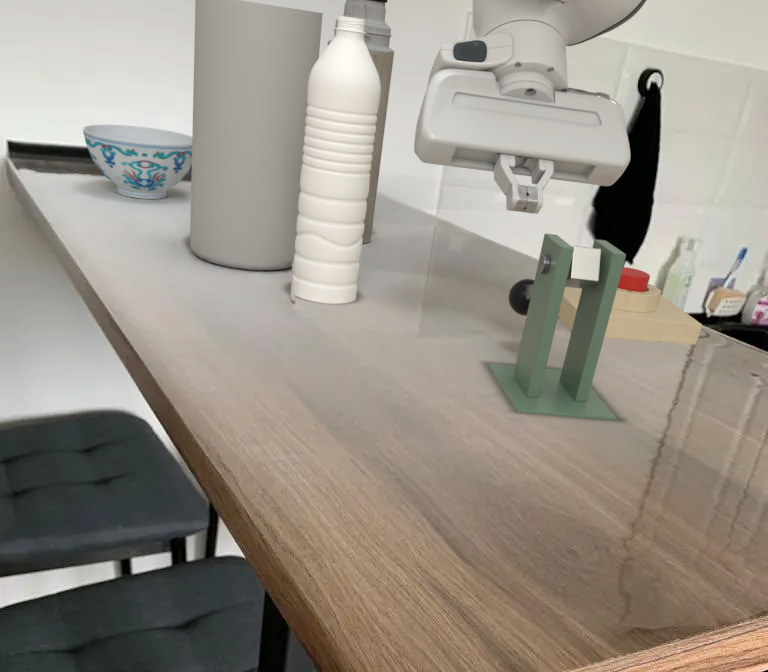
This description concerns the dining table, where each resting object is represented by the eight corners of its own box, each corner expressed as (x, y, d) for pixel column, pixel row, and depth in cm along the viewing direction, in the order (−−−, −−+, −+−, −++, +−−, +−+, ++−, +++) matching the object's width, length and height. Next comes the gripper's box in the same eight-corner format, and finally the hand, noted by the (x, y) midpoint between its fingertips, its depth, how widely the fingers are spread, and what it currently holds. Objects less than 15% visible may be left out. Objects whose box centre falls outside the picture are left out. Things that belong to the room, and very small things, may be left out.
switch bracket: (485, 376, 74) (516, 223, 68) (573, 383, 75) (612, 234, 69) (513, 424, 65) (552, 254, 59) (613, 432, 67) (661, 266, 60)
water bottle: (354, 316, 84) (390, 23, 71) (287, 308, 83) (312, 11, 71) (355, 292, 91) (387, 23, 79) (293, 284, 91) (316, 12, 78)
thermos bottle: (317, 226, 117) (339, -13, 103) (374, 235, 117) (404, -3, 103) (304, 237, 110) (327, -17, 97) (365, 247, 110) (396, -6, 96)
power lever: (502, 316, 78) (505, 280, 78) (536, 320, 79) (539, 284, 78) (563, 283, 63) (567, 239, 63) (604, 287, 64) (608, 244, 64)
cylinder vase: (166, 252, 95) (169, -11, 83) (231, 237, 105) (242, 1, 93) (262, 279, 91) (280, 6, 79) (320, 260, 101) (344, 16, 89)
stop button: (636, 285, 91) (641, 268, 90) (651, 296, 88) (656, 279, 87) (601, 281, 91) (605, 264, 90) (614, 292, 87) (619, 275, 86)
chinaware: (180, 211, 114) (181, 148, 110) (67, 194, 114) (64, 131, 110) (208, 193, 127) (210, 137, 123) (107, 177, 127) (106, 121, 123)
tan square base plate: (651, 321, 97) (664, 277, 95) (692, 355, 88) (708, 307, 85) (541, 310, 95) (552, 264, 93) (572, 343, 86) (584, 293, 83)
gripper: (608, 119, 87) (616, 240, 83) (410, 91, 84) (410, 216, 80) (637, 73, 81) (647, 201, 77) (424, 41, 78) (425, 173, 74)
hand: (524, 208), depth 79 cm, fingers closed
